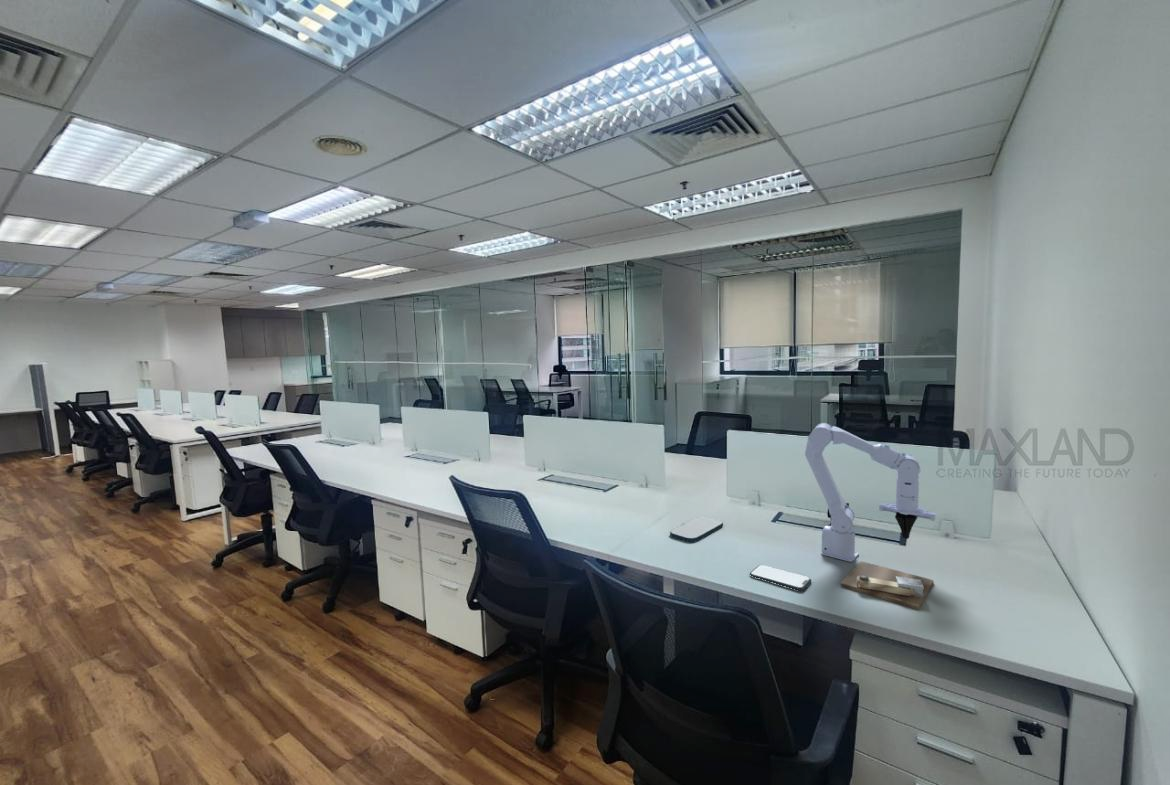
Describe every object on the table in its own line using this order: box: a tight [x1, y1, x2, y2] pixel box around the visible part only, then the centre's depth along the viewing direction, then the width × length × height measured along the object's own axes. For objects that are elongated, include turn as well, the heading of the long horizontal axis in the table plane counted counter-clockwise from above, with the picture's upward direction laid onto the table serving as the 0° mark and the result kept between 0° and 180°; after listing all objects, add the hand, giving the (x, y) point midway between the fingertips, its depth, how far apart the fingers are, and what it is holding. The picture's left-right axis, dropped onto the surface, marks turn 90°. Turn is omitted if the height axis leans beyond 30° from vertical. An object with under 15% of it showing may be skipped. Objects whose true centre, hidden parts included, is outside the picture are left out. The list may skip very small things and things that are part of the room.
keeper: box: [896, 576, 924, 598], centre depth 134 cm, size 6×4×4 cm
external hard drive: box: [669, 515, 724, 543], centre depth 187 cm, size 24×12×2 cm, turn 135°
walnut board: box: [840, 560, 934, 611], centre depth 141 cm, size 19×19×1 cm
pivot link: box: [857, 575, 911, 596], centre depth 137 cm, size 13×4×3 cm, turn 62°
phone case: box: [749, 564, 812, 592], centre depth 147 cm, size 9×2×16 cm
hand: (905, 537), depth 151 cm, fingers closed
